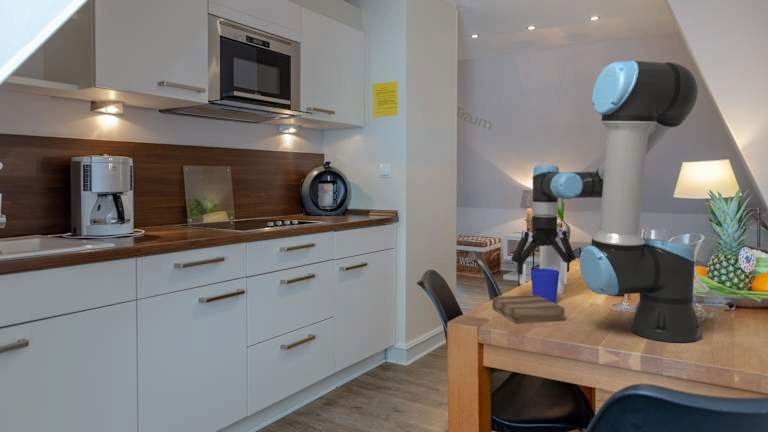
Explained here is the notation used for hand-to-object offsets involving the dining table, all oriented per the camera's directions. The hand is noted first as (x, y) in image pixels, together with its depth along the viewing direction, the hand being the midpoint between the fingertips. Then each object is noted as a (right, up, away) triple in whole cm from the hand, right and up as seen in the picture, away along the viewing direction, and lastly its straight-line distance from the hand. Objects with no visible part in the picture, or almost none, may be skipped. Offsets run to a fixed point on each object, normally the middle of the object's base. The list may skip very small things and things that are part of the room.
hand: (543, 283), depth 169 cm
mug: (0, -6, 0) cm, 6 cm away
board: (-9, -7, -16) cm, 20 cm away
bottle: (+7, -5, +13) cm, 16 cm away
